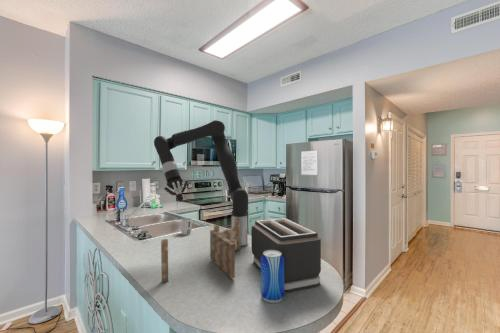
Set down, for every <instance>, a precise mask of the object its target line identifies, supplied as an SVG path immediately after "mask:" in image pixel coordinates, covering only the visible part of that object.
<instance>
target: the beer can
mask: <svg viewBox="0 0 500 333" xmlns="http://www.w3.org/2000/svg"><path fill="white" fill-rule="evenodd" d="M260 296H261V297H262V298H263V300H264V301H265V302H267V303H269V302H270V303H271V304H276V303H281V301H282V300H283V298H284V297H285V293H284V258H283V257H282V253H281V252H280V251H277V250H267V251H264V252H263V256H262V257H261V271H260Z"/></svg>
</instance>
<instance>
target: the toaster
mask: <svg viewBox="0 0 500 333" xmlns="http://www.w3.org/2000/svg"><path fill="white" fill-rule="evenodd" d="M318 234H319V233H318V232H316V231H314V230H311V229H310V228H308V227H306V226H304V225H302V224H299V223H297V222H295V221H293V220H290V219H289V218H285V217H282V218H280V217H279V218H272V219H261V220H260V219H259V220H255V221H254V224H253V225H252V226H251V236H250V237H251V253H252V255H253V264H254V265H255V266H256V267H257V268H258V269H259V271H260V272H261V257H262V256H263V252H264V251H267V250H277V251H280V252H281V253H282V257H283V258H284V292H285V293H284V294H286V292H289V293H292V292H293V291H294V292H297V291H303V290H307V289H313V288H318V287H319V286H320V285H321V276H320V273H321V271H322V260H321V259H322V249H321V247H322V244H321V243H322V240H321V237H319V235H318Z"/></svg>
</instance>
